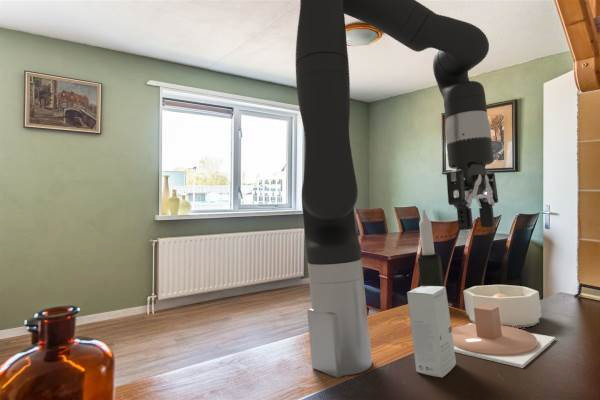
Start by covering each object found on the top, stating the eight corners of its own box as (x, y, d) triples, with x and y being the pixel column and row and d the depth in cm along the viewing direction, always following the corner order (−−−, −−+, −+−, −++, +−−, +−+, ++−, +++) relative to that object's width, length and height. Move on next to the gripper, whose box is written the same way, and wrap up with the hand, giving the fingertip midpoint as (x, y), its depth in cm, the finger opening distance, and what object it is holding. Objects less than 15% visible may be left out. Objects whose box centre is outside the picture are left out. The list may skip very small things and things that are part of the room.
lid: (518, 362, 52) (513, 323, 53) (432, 343, 63) (429, 310, 64) (549, 337, 61) (544, 303, 62) (469, 323, 72) (466, 295, 72)
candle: (443, 310, 86) (431, 208, 87) (422, 309, 88) (411, 210, 90) (446, 305, 90) (435, 208, 92) (426, 304, 93) (415, 210, 94)
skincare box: (444, 379, 50) (434, 293, 51) (414, 372, 53) (405, 292, 54) (457, 363, 55) (448, 285, 56) (429, 358, 58) (421, 284, 59)
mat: (522, 368, 52) (522, 364, 52) (430, 346, 63) (429, 343, 63) (555, 340, 61) (555, 337, 61) (469, 325, 73) (469, 323, 73)
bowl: (525, 333, 65) (521, 300, 66) (458, 321, 76) (454, 293, 76) (548, 316, 74) (544, 288, 74) (485, 308, 84) (481, 283, 84)
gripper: (470, 131, 57) (480, 230, 56) (506, 139, 66) (515, 225, 65) (428, 141, 63) (437, 231, 62) (466, 148, 72) (474, 226, 71)
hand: (477, 228), depth 64 cm, fingers open, 8 cm apart
